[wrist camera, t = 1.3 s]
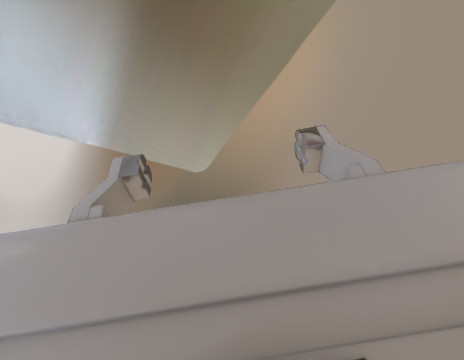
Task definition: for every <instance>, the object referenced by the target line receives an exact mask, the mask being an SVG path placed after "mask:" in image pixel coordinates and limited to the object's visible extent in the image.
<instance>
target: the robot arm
mask: <svg viewBox="0 0 464 360" xmlns="http://www.w3.org/2000/svg"><path fill="white" fill-rule="evenodd" d="M295 137H296V140H297V141H296V142H295V147H294V149H295V155H296V158H297V160H299V161H300V167H301V169H302V172H303V174H304V173H312V172H319V173H321V174H322V175H323V176H325V177H326V178H328V179H329V180H330V182H324V183H318V184H311V185H305V186H299V187H293V188H286V189H280V190H274V191H267V192H261V193H255V194H249V195H243V196H236V197H230V198H223V199H218V200H211V201H205V202H198V203H193V204H186V205H180V206H173V207H167V208H161V209H154V210H148V211H142V212H136V213H130V214H125V213H126V212H127V211H128V209H129V208H130V207H131V205H132V204H133V203H134V201H137V200H142V199H147V198H150V191H151V188H150V186H149V185H150V184H151V182H152V175H151V171H150V168H149V166H148V165H146V159H145V156H144V155H143V154H139V155H132V156H125V157H118V158H114V159H113V161H112V165H111V168H110V172H109V176H108V179H105V180H104V181H103V182H102V183H100V184H99V185H98V186H97V187H96V188H95V189H94V190H93V191H92V192H90V193H89V194H88V195H87V196H86V197H85V198H84V199H83V200H82V201H81V202H79V204H77V205H76V206H75V207H74V208H73V210H72V212H71V215H70V218H69V220H68V223H67V224H61V225H54V226H49V227H42V228H36V229H30V230H23V231H17V232H10V233H3V234H0V360H464V161H455V162H449V163H442V164H436V165H430V166H423V167H418V168H412V169H405V170H399V171H393V172H385V170H384V169H383V168H382V166H381V165H380V164H379V162H378V161H377V160H376V159H373V158H371V157H369V156H367V155H365V154H363V153H360V152H358V151H356V150H354V149H352V148H350V147H348V146H346V145H343V144H341V143H336V142H335V140H334V138H333V137H332V135H331V134H330V132H329V130H328V129H327V127H326V126H325V125H321V126H315V127H311V128H305V129H299V130H296V132H295Z"/></svg>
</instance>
